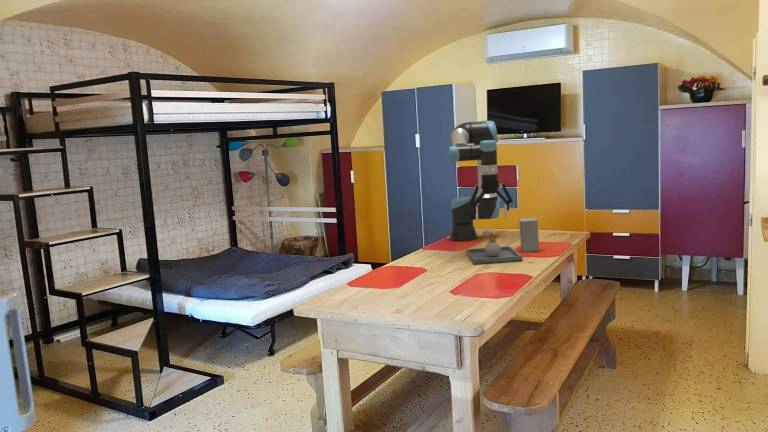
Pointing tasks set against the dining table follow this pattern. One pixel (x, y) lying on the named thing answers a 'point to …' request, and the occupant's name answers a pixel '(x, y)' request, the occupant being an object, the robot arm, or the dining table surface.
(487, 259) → the tray
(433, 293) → the dining table surface
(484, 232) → the perfume bottle
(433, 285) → the dining table surface
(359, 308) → the dining table surface
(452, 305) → the dining table surface
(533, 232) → the skincare box
